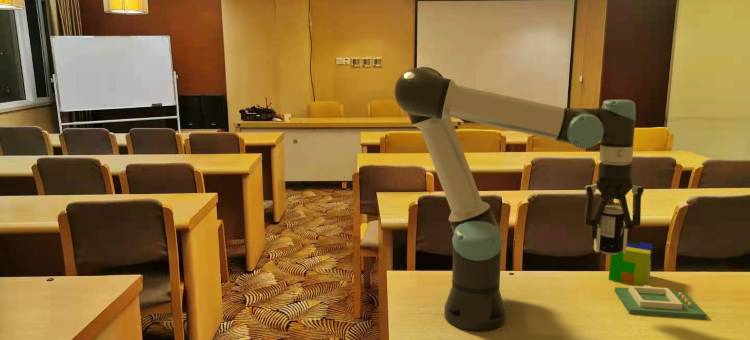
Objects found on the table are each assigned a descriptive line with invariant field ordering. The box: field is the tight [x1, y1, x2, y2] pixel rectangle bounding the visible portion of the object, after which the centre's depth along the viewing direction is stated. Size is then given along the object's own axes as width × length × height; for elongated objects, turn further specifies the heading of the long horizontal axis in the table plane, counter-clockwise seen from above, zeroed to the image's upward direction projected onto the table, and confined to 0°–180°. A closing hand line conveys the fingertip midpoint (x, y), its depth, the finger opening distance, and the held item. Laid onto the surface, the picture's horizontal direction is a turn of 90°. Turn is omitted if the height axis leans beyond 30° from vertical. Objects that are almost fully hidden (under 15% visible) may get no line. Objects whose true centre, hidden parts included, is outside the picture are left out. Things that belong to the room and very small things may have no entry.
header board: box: [614, 285, 708, 320], centre depth 141 cm, size 18×14×3 cm
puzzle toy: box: [608, 239, 654, 287], centre depth 158 cm, size 10×10×10 cm
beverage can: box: [598, 204, 625, 256], centre depth 136 cm, size 6×6×12 cm
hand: (609, 250), depth 137 cm, fingers closed on beverage can, 6 cm apart
